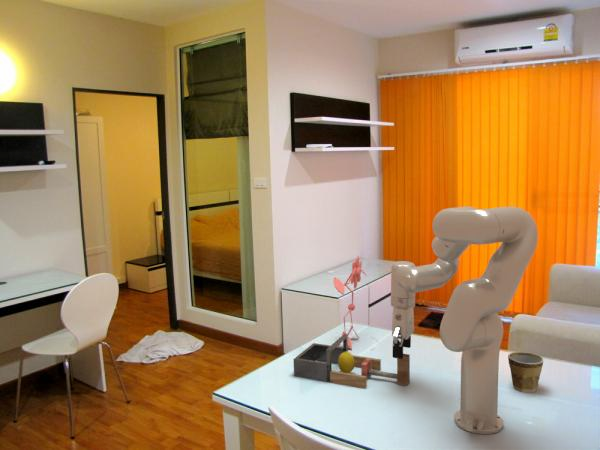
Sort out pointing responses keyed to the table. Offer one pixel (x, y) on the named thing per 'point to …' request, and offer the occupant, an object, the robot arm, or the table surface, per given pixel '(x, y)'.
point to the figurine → (339, 286)
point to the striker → (401, 375)
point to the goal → (309, 358)
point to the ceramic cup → (525, 370)
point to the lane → (353, 378)
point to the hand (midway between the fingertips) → (401, 352)
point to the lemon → (346, 362)
